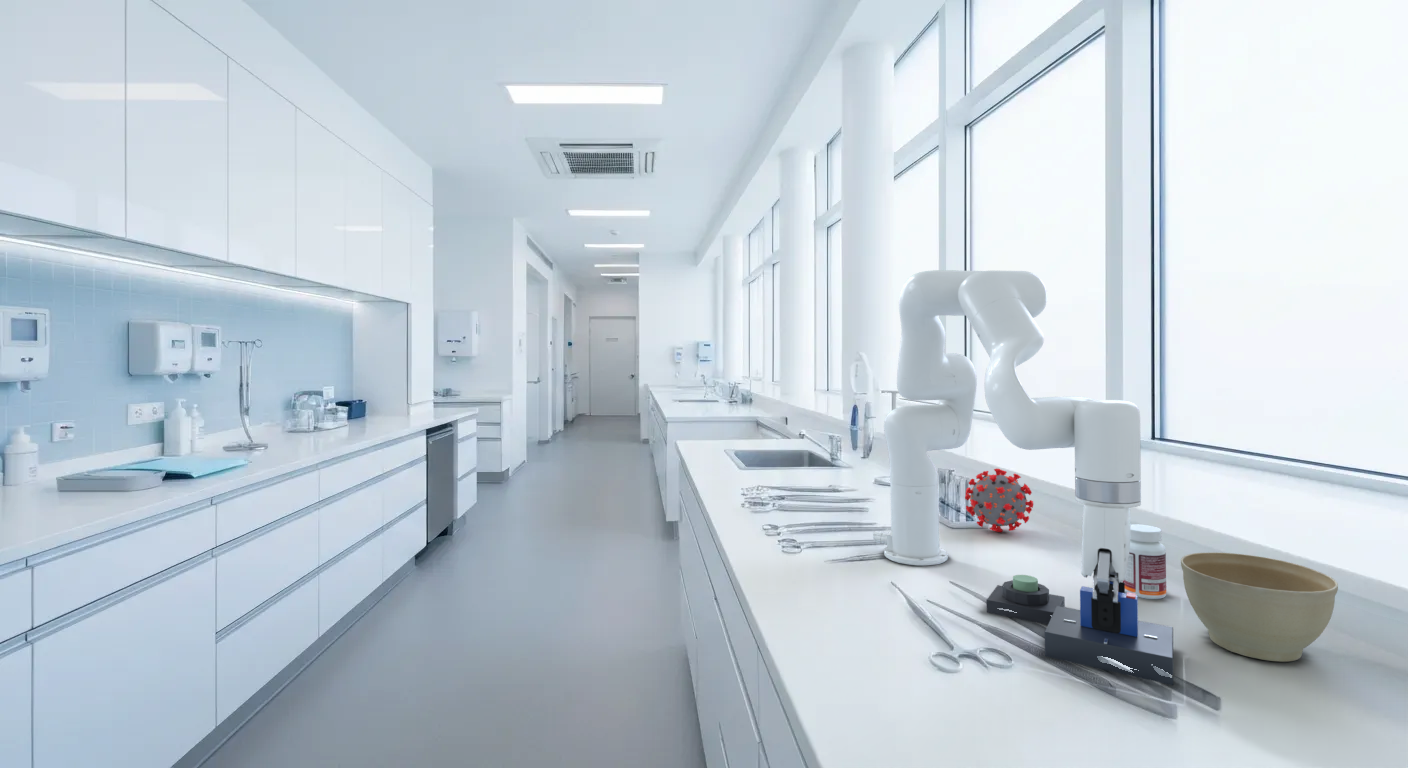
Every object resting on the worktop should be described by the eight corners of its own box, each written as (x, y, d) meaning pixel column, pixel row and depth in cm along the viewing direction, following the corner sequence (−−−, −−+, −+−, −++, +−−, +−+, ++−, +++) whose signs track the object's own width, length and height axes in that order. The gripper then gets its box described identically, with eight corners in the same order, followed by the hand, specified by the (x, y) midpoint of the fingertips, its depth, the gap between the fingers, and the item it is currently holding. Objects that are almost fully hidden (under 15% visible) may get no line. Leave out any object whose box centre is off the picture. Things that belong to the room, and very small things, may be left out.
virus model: (974, 540, 141) (973, 474, 141) (958, 523, 156) (957, 463, 155) (1043, 541, 139) (1042, 474, 138) (1020, 524, 153) (1019, 463, 153)
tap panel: (1044, 656, 85) (1044, 630, 85) (1056, 628, 94) (1056, 604, 94) (1173, 686, 77) (1172, 656, 77) (1173, 652, 85) (1172, 625, 85)
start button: (1010, 590, 100) (1010, 579, 100) (1015, 583, 103) (1015, 573, 103) (1035, 594, 98) (1035, 583, 98) (1039, 587, 101) (1039, 577, 101)
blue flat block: (1080, 626, 86) (1079, 588, 86) (1082, 621, 88) (1081, 584, 88) (1137, 637, 82) (1137, 597, 82) (1138, 631, 84) (1137, 593, 84)
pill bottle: (1172, 594, 106) (1172, 528, 105) (1157, 603, 102) (1156, 534, 102) (1131, 584, 111) (1131, 521, 111) (1115, 592, 107) (1114, 527, 107)
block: (986, 613, 100) (986, 588, 100) (997, 597, 107) (997, 574, 107) (1057, 627, 94) (1057, 601, 94) (1064, 610, 101) (1064, 585, 101)
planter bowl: (1216, 669, 80) (1216, 585, 80) (1161, 619, 96) (1160, 549, 96) (1372, 682, 76) (1372, 594, 76) (1288, 628, 92) (1287, 555, 91)
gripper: (1082, 478, 94) (1084, 594, 94) (1066, 500, 80) (1068, 635, 80) (1143, 483, 89) (1144, 604, 90) (1138, 506, 75) (1139, 650, 76)
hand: (1108, 618), depth 85 cm, fingers open, 7 cm apart
